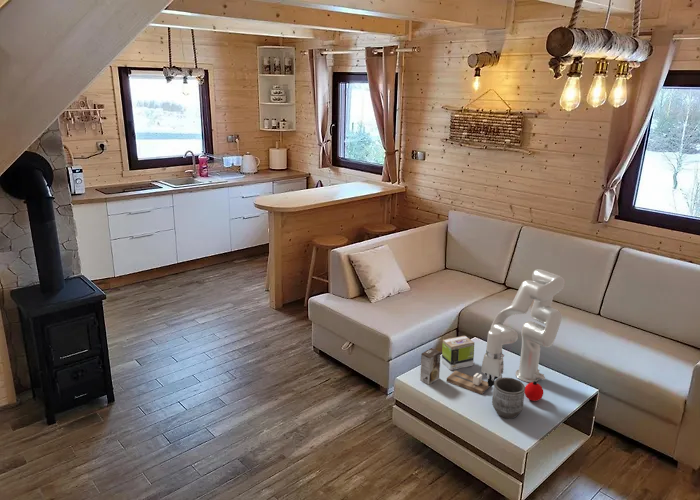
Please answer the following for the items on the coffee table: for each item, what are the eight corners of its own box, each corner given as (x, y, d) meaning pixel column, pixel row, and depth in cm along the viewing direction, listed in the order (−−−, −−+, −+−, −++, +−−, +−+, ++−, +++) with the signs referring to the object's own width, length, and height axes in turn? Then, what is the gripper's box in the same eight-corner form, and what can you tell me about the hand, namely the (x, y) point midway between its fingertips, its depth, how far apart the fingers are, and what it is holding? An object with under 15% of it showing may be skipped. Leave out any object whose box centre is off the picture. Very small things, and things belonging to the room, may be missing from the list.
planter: (493, 401, 259) (496, 374, 255) (523, 407, 254) (526, 380, 250) (489, 417, 247) (492, 389, 243) (520, 424, 242) (523, 396, 237)
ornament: (520, 399, 261) (522, 381, 258) (528, 392, 267) (530, 375, 264) (537, 406, 255) (539, 388, 252) (545, 399, 261) (547, 382, 258)
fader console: (489, 386, 273) (490, 382, 272) (481, 394, 265) (482, 390, 265) (455, 373, 284) (455, 370, 284) (446, 381, 277) (446, 377, 276)
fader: (481, 382, 272) (482, 374, 270) (478, 385, 269) (478, 377, 267) (476, 380, 274) (476, 372, 272) (472, 383, 271) (473, 375, 269)
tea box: (463, 358, 301) (465, 334, 297) (473, 366, 292) (475, 342, 288) (440, 362, 296) (442, 338, 292) (450, 370, 287) (451, 346, 283)
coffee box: (429, 374, 284) (431, 347, 279) (439, 378, 279) (441, 351, 275) (419, 380, 278) (420, 353, 273) (429, 385, 273) (430, 357, 269)
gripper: (511, 355, 260) (507, 387, 265) (482, 346, 268) (480, 377, 274) (505, 361, 254) (501, 394, 259) (476, 351, 263) (473, 383, 268)
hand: (490, 385), depth 266 cm, fingers closed
